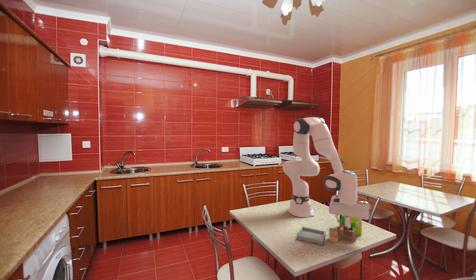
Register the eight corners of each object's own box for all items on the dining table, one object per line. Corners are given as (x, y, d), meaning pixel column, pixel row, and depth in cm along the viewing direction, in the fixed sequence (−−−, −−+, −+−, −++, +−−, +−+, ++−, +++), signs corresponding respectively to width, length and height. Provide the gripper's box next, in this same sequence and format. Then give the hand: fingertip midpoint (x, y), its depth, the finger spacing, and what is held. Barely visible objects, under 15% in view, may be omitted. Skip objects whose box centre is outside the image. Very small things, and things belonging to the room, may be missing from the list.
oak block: (329, 238, 117) (330, 227, 117) (337, 239, 115) (337, 229, 115) (329, 241, 114) (329, 230, 114) (337, 243, 112) (337, 232, 112)
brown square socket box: (340, 232, 124) (340, 224, 123) (355, 235, 120) (355, 227, 120) (340, 238, 117) (340, 229, 117) (355, 241, 113) (355, 232, 113)
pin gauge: (344, 235, 120) (344, 215, 119) (350, 236, 119) (350, 215, 118) (344, 237, 118) (344, 216, 117) (350, 238, 116) (350, 217, 116)
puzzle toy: (357, 228, 130) (357, 212, 130) (361, 235, 121) (361, 218, 120) (339, 226, 133) (339, 210, 133) (342, 233, 123) (342, 216, 123)
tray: (302, 230, 127) (302, 226, 127) (325, 235, 121) (325, 231, 121) (297, 239, 115) (297, 235, 115) (322, 245, 109) (323, 241, 109)
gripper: (369, 200, 116) (369, 225, 116) (329, 195, 125) (329, 218, 126) (370, 204, 110) (370, 230, 111) (328, 198, 120) (328, 222, 120)
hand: (348, 223), depth 118 cm, fingers open, 8 cm apart
